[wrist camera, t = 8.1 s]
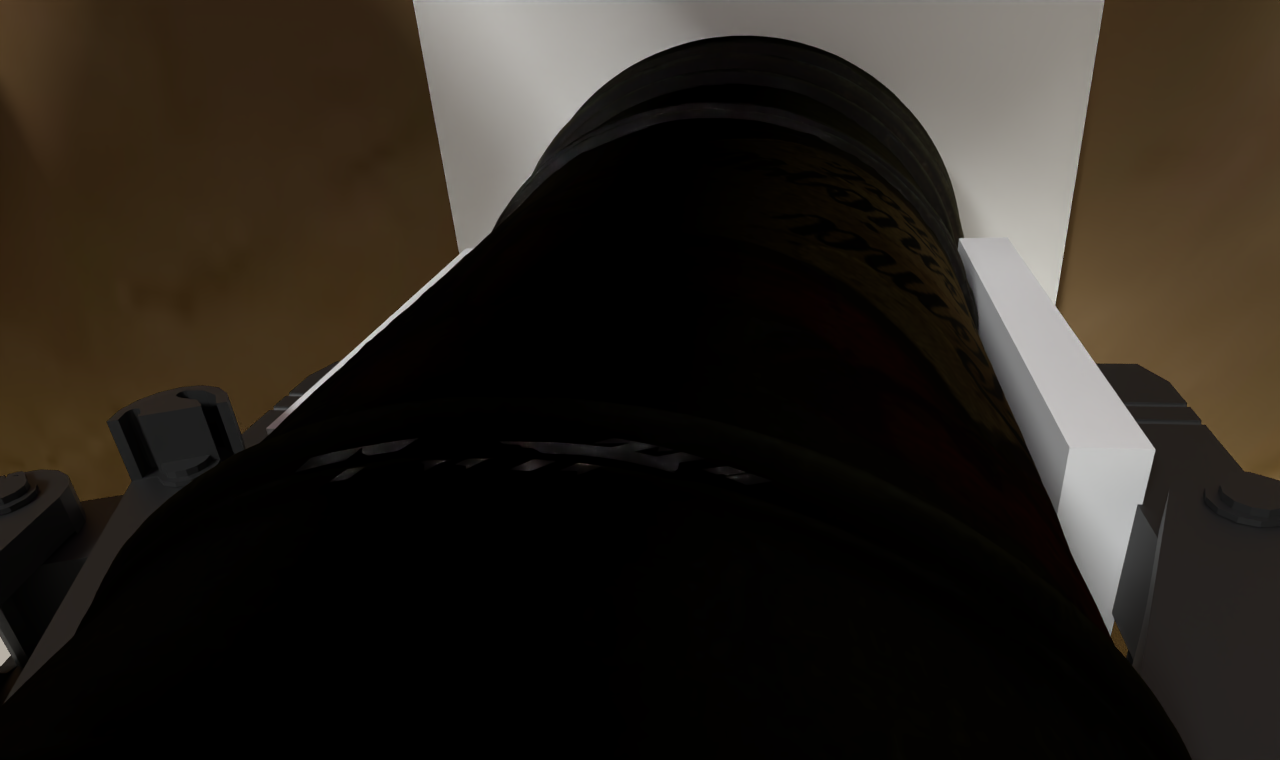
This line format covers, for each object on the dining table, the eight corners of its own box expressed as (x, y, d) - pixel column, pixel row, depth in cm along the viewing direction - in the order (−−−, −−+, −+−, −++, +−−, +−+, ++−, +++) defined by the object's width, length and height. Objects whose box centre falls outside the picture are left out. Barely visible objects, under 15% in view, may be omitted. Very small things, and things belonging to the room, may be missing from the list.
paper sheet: (507, 466, 24) (500, 477, 24) (409, -81, 18) (397, -81, 17) (1018, 482, 22) (1024, 496, 21) (1118, -152, 15) (1129, -156, 15)
